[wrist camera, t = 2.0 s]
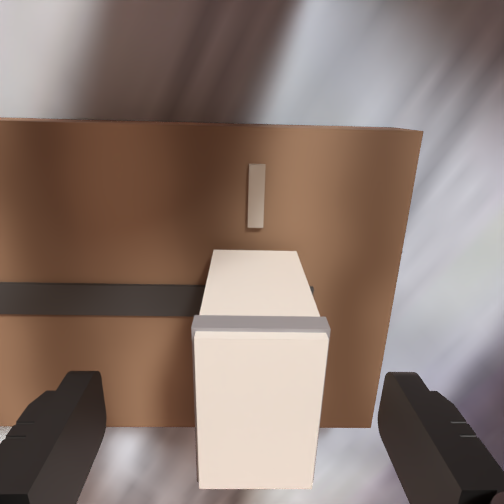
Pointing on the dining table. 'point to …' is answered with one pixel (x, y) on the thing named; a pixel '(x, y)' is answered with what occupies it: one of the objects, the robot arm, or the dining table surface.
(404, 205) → the brown flat wooden board
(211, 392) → the fader tab
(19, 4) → the dining table surface
